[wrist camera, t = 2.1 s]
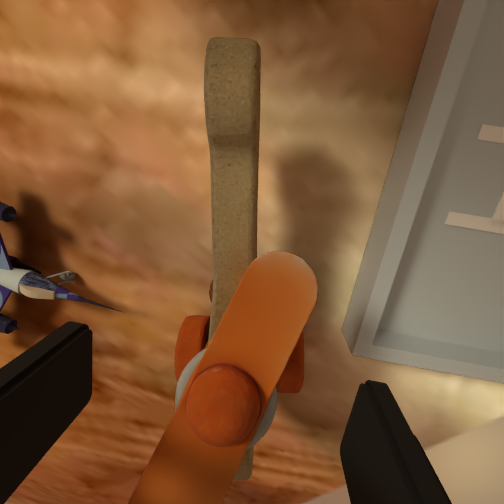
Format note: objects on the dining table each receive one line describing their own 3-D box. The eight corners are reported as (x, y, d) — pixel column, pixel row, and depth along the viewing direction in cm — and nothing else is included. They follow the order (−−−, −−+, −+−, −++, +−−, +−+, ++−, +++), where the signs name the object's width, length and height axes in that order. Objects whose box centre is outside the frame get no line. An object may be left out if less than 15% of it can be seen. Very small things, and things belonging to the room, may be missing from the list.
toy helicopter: (196, 367, 23) (94, 623, 10) (179, 84, 17) (-121, -177, 4) (295, 373, 23) (323, 654, 10) (313, 81, 17) (454, -231, 4)
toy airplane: (141, 296, 22) (116, 320, 18) (10, 352, 25) (-33, 382, 21) (42, 132, 19) (-10, 124, 15) (-95, 216, 22) (-165, 226, 18)
